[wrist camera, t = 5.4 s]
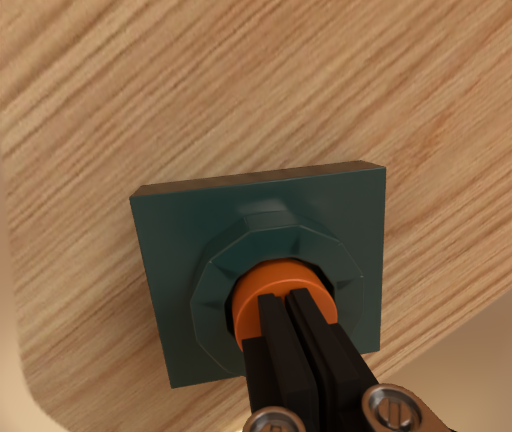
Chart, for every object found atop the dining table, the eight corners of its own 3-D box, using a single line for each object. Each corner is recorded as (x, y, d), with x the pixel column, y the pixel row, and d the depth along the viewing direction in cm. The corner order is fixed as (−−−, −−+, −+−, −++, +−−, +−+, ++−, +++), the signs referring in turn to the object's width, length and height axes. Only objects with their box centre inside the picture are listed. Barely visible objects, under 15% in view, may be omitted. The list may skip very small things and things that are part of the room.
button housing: (176, 355, 16) (165, 426, 12) (141, 185, 14) (114, 210, 10) (359, 323, 17) (401, 380, 14) (361, 160, 15) (414, 174, 11)
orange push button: (236, 344, 13) (240, 378, 11) (225, 264, 12) (228, 288, 10) (322, 329, 13) (339, 360, 11) (320, 250, 12) (337, 271, 10)
